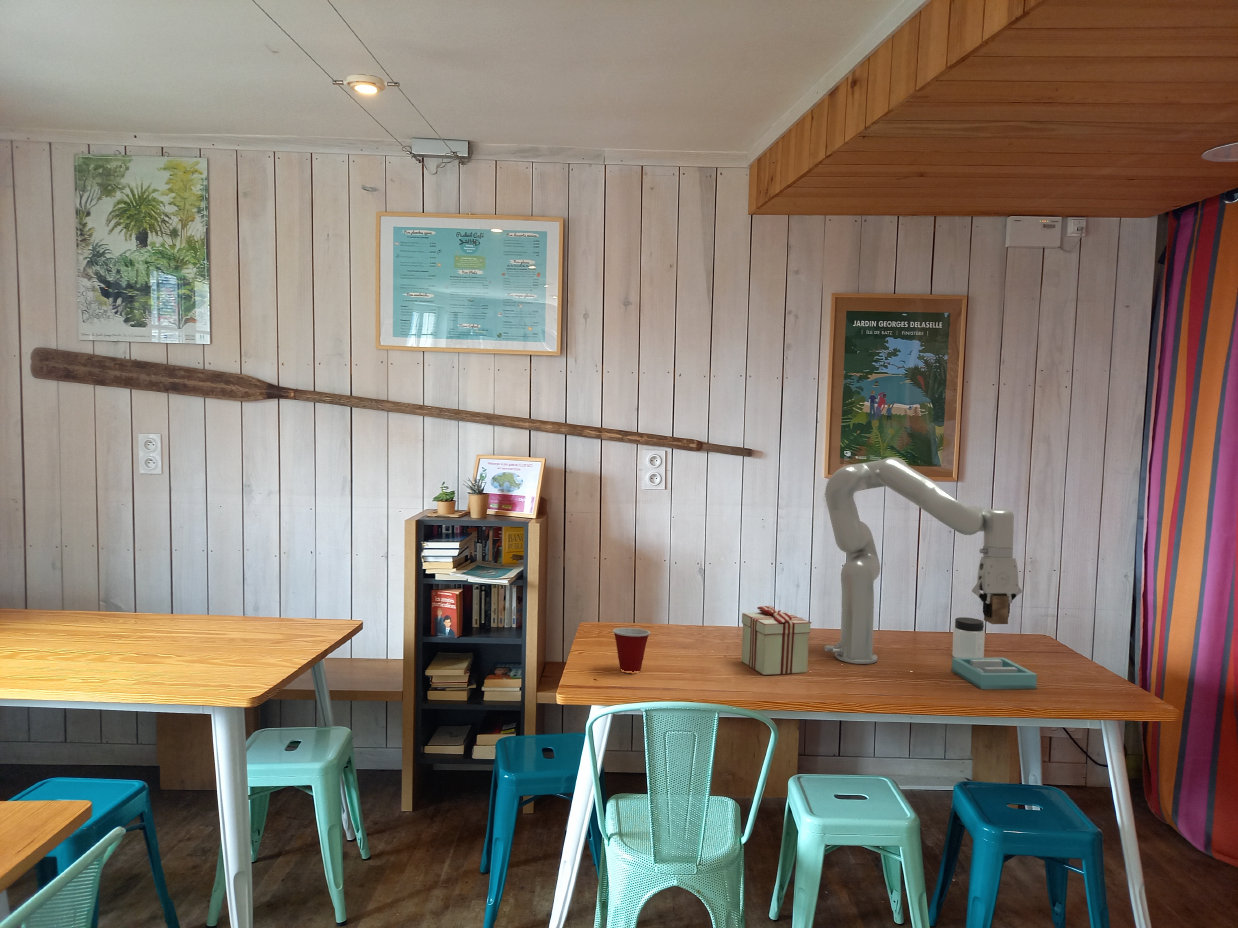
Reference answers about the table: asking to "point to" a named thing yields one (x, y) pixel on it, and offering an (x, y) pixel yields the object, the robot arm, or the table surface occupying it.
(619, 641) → the plastic cup
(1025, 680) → the candle dish
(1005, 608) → the brown wooden block
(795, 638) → the gift box
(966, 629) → the jar
